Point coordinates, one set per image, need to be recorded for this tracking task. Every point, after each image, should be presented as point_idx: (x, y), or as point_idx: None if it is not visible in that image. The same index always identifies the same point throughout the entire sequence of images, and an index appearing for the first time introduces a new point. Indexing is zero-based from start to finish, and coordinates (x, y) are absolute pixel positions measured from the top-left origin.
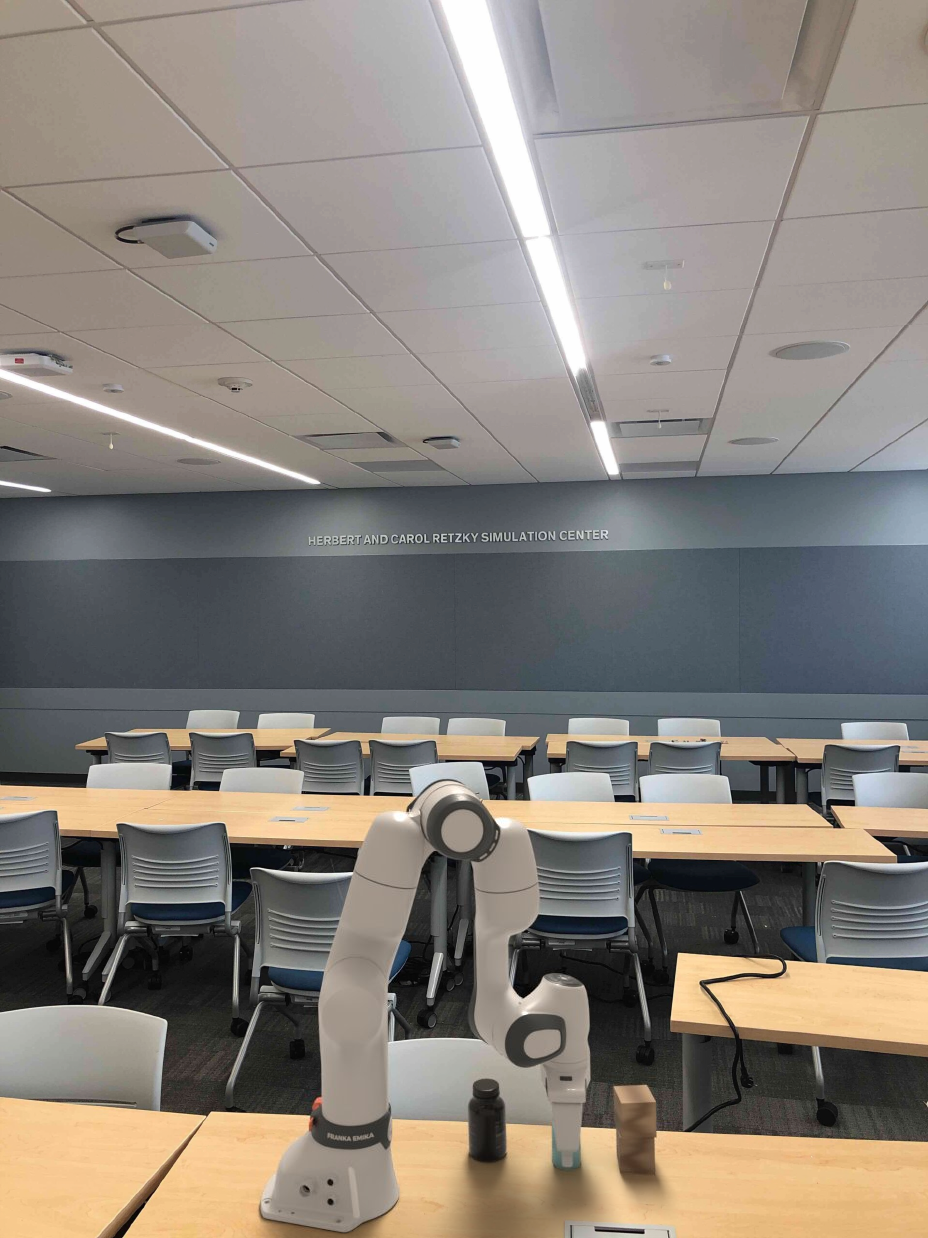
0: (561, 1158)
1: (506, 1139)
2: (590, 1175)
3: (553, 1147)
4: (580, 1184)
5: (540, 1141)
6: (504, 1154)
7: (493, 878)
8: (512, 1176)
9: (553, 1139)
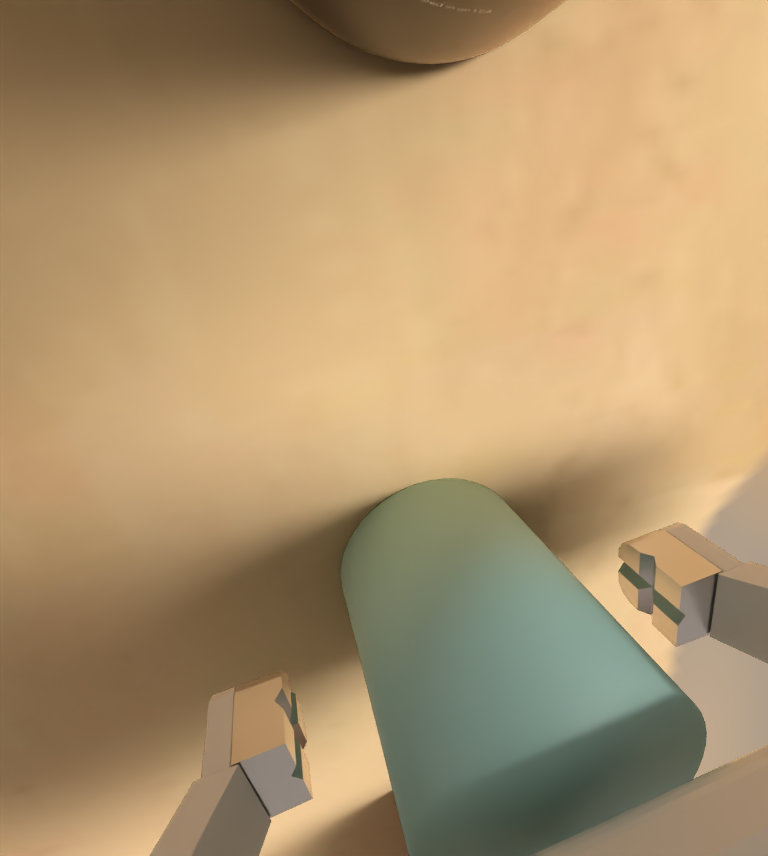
0: (357, 617)
1: (519, 15)
2: (333, 706)
3: (413, 592)
4: None
5: (638, 339)
6: (370, 51)
7: None
8: (74, 232)
9: (437, 654)
